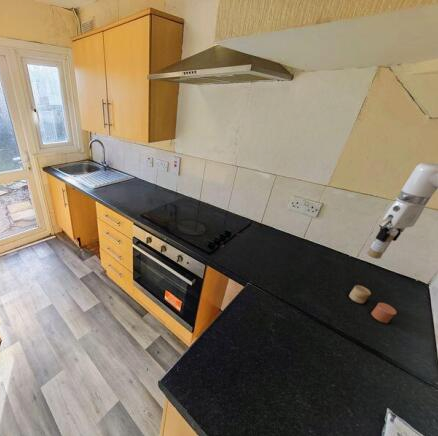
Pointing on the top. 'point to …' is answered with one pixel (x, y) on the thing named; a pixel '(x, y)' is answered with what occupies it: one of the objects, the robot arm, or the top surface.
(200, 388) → the top surface
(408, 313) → the top surface
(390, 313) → the orange-brown short cylinder
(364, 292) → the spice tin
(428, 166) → the robot arm
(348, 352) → the top surface
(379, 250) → the sprinkles bottle
